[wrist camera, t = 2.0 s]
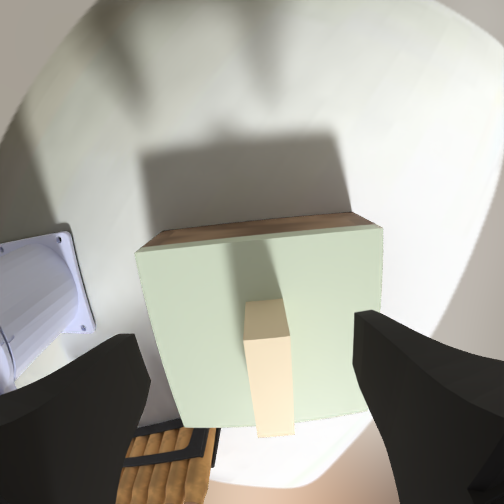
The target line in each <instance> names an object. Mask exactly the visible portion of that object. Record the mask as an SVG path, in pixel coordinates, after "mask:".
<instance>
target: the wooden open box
mask: <svg viewBox="0 0 504 504" xmlns="http://www.w3.org/2000/svg"><path fill="white" fill-rule="evenodd" d="M370 224H375V223H373V222H371V221H369V220H367V219H365V218H363V217H361V216H359V215H357V214H355V213H353V212H345V213H332V214H320V215H309V216H298V217H287V218H276V219H266V220H256V221H246V222H237V223H227V224H218V225H209V226H201V227H192V228H183V229H175V230H167V231H162V232H161V233H160V234H158V235H157V236H156V237H154V238H153V239H152V240H150V241H149V242H148V243H146V244H145V245H144V246H142V247H150V246H159V245H167V244H176V243H185V242H195V241H204V240H213V239H223V238H232V237H242V236H252V235H262V234H272V233H282V232H293V231H303V230H314V229H325V228H336V227H347V226H358V225H370Z"/></svg>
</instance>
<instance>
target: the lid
mask: <svg viewBox="0 0 504 504" xmlns="http://www.w3.org/2000/svg"><path fill="white" fill-rule="evenodd" d="M134 254H135V259H136V264H137V268H138V273H139V277H140V282H141V286H142V290H143V295H144V299H145V303H146V307H147V311H148V314H149V318H150V322H151V326H152V329H153V333H154V337H155V340H156V344H157V347H158V350H159V354H160V357H161V360H162V364H163V367H164V370H165V373H166V376H167V379H168V382H169V385H170V388H171V391H172V394H173V397H174V400H175V403H176V406H177V409H178V411H179V414H180V417H181V419H182V422H183V425H184V427H186V428H229V427H252V426H256V429H257V435H258V438H264V437H276V436H287V435H295V431H294V423H298V422H306V421H313V420H320V419H327V418H333V417H339V416H345V415H350V414H355V413H360V412H365V411H367V410H368V406H367V404H366V401H365V399H364V397H363V395H362V393H361V390H360V388H359V385H358V382H357V379H356V375H355V372H354V368H353V365H352V358H353V337H354V312H360V311H366V310H375V311H377V312H379V313H380V307H381V292H382V270H383V228H382V227H380V226H378V225H376V224H370V225H358V226H347V227H336V228H325V229H314V230H303V231H293V232H282V233H272V234H262V235H252V236H242V237H232V238H223V239H213V240H204V241H195V242H185V243H176V244H167V245H159V246H150V247H141V248H140V249H139V250H137V251H136V252H135V253H134Z"/></svg>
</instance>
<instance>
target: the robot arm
mask: <svg viewBox="0 0 504 504" xmlns="http://www.w3.org/2000/svg"><path fill="white" fill-rule="evenodd" d="M59 237H61V241H60V240H59ZM3 249H4V250H3ZM83 325H84V326H85V327H86V328H84V327H83ZM95 330H96V326H95V323H94V320H93V317H92V314H91V311H90V307H89V304H88V301H87V297H86V294H85V290H84V287H83V283H82V279H81V275H80V272H79V268H78V264H77V259H76V255H75V251H74V246H73V242H72V237H71V234H70V233H69V232H67V231H63V232H57V233H52V234H46V235H41V236H36V237H31V238H26V239H21V240H16V241H11V242H6V243H1V244H0V504H116V498H117V491H118V485H119V481H120V476H121V472H122V467H123V463H124V460H125V457H126V454H127V451H128V448H129V446H130V443H131V441H132V438H133V436H134V433H135V431H136V428H137V425H138V423H139V420H140V418H141V415H142V413H143V410H144V407H145V405H146V401H147V396H148V392H149V387H150V383H151V380H150V377H149V375H148V372H147V369H146V366H145V364H144V361H143V358H142V355H141V352H140V349H139V346H138V343H137V340H136V337H135V334H118V335H116V336H113V337H112V338H110V339H108V340H106V341H104V342H103V343H101V344H99V345H98V346H96V347H95V348H93V349H91V350H90V351H88V352H87V353H85V354H83V355H82V356H80V357H79V358H77V359H75V360H74V361H72V362H70V363H69V364H67V365H65V366H64V367H62V368H60V369H58V370H57V371H55V372H53V373H51V374H50V375H48V376H46V377H44V378H42V379H40V380H38V381H36V382H33V383H31V384H29V385H27V386H24V387H22V388H19V389H17V388H16V386H15V383H14V382H15V381H16V379H17V378H18V377H19V376H20V375H21V374H22V373H23V372H24V371H25V370H26V369H27V368H28V366H29V365H30V364H31V363H32V362H33V361H34V360H35V359H36V358H37V357H38V356H39V355H40V354H41V353H42V352H43V351H44V350H45V349H46V348H47V347H48V346H49V345H50V344H51V343H52V342H53V340H54V339H55V338H56V337H57V336H58V335H59V334H60V333H86V334H91V333H93V332H94V331H95ZM352 365H353V368H354V372H355V375H356V379H357V382H358V385H359V388H360V390H361V393H362V395H363V397H364V399H365V401H366V404H367V406H368V408H369V410H370V412H371V414H372V417H373V419H374V421H375V423H376V425H377V428H378V429H379V432H380V434H381V436H382V439H383V441H384V444H385V447H386V449H387V452H388V456H389V460H390V463H391V467H392V470H393V474H394V478H395V483H396V487H397V491H398V495H399V501H400V504H504V361H501V360H496V359H491V358H486V357H482V356H478V355H475V354H471V353H468V352H465V351H462V350H459V349H456V348H453V347H450V346H448V345H445V344H442V343H440V342H438V341H436V340H433V339H431V338H429V337H426V336H424V335H422V334H420V333H418V332H416V331H414V330H412V329H410V328H408V327H406V326H404V325H402V324H400V323H399V322H397V321H395V320H393V319H391V318H389V317H387V316H385V315H383V314H381V313H379V312H377V311H375V310H366V311H360V312H354V337H353V358H352Z"/></svg>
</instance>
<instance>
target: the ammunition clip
mask: <svg viewBox="0 0 504 504" xmlns="http://www.w3.org/2000/svg"><path fill="white" fill-rule="evenodd" d="M220 431H221V428H186V427H184V425H183V422H182V419H181V418H179V419H175V420H171V421H167V422H163V423H159V424H154V425H150V426H145V427H141V428H136V431H135V433H134V436H133V438H132V441H131V443H130V446H129V448H128V451H127V454H126V457H125V460H124V463H123V467H122V472H121V476H120V481H119V485H118V491H117V498H116V504H183V503H184V504H203V502H204V498H205V496H206V493H207V490H208V484H209V476H210V469H211V468H213V467H214V466H215V460H216V454H217V448H218V442H219V436H220ZM184 500H185V501H184Z"/></svg>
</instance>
